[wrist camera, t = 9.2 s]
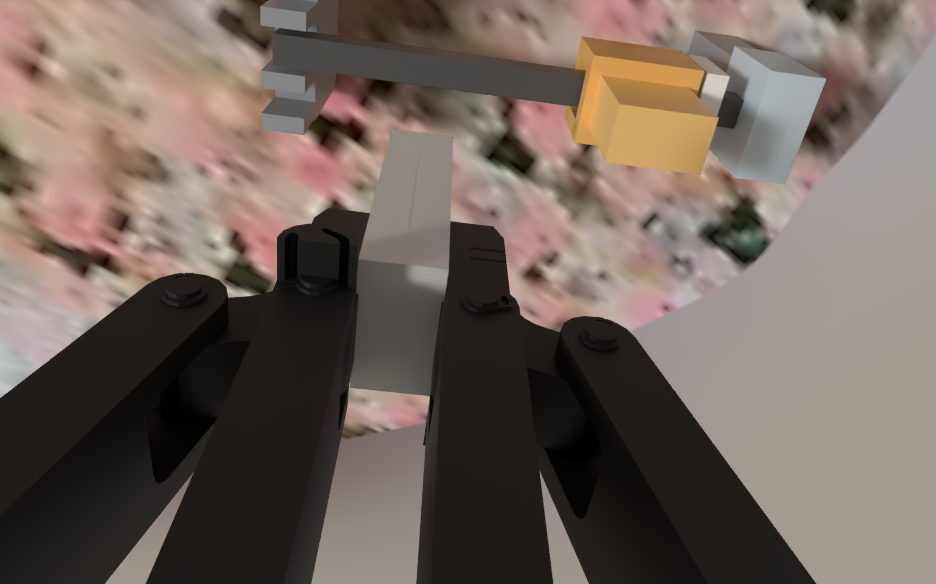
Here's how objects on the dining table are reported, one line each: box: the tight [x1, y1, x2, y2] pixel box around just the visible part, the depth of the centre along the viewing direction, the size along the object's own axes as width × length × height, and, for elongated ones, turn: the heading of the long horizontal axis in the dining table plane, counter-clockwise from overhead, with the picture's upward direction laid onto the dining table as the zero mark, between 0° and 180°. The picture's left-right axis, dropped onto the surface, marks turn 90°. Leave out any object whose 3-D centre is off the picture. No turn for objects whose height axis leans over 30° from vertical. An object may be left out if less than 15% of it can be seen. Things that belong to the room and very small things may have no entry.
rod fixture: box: [260, 0, 826, 184], centre depth 36 cm, size 25×8×12 cm, turn 82°
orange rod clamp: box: [565, 37, 719, 175], centre depth 32 cm, size 5×4×8 cm
